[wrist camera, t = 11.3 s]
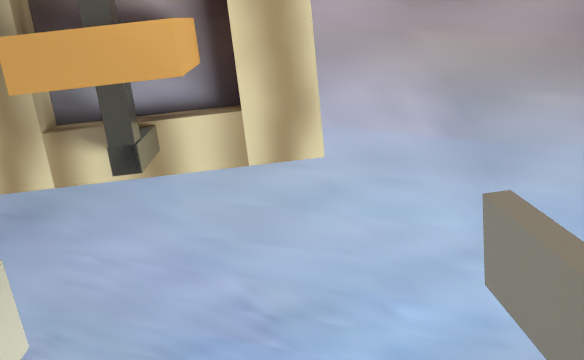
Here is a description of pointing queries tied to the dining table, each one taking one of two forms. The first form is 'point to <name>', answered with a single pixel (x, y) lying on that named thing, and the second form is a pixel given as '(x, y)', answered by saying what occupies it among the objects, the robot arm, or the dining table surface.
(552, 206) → the dining table surface
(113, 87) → the gray u-shaped bracket
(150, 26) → the orange u-shaped bracket
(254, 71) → the beige open frame
